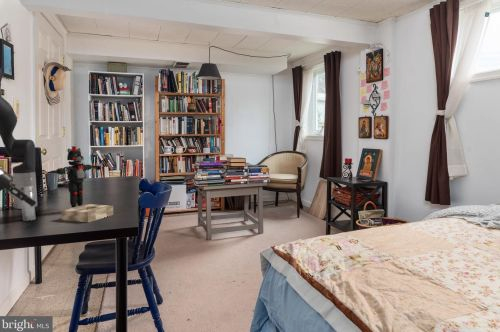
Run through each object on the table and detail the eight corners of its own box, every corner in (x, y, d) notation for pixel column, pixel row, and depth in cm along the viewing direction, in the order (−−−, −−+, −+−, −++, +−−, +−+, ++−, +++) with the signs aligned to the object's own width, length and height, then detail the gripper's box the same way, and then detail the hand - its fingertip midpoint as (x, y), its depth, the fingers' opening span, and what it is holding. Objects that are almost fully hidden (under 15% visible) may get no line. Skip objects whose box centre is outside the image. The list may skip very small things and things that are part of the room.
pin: (20, 220, 141) (18, 186, 140) (30, 217, 145) (28, 185, 144) (28, 221, 140) (25, 187, 138) (37, 218, 144) (35, 185, 142)
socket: (61, 219, 141) (61, 210, 141) (88, 212, 154) (87, 204, 154) (88, 222, 136) (87, 212, 136) (113, 214, 149) (112, 205, 149)
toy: (61, 219, 142) (57, 147, 139) (45, 218, 143) (41, 147, 141) (105, 205, 171) (103, 145, 169) (92, 204, 173) (89, 145, 170)
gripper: (4, 171, 130) (42, 198, 139) (2, 168, 142) (38, 194, 150) (-13, 186, 128) (28, 213, 136) (-13, 182, 139) (25, 208, 147)
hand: (33, 203), depth 143 cm, fingers closed on pin, 4 cm apart
